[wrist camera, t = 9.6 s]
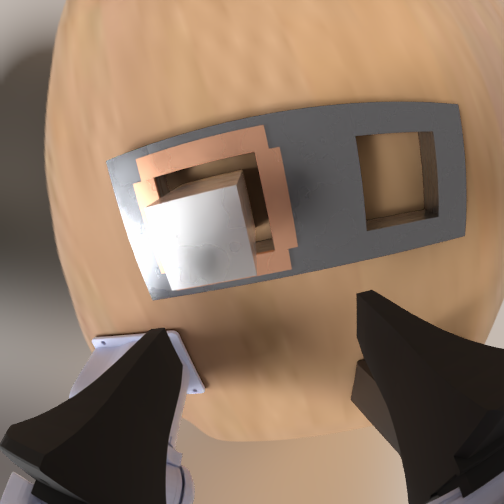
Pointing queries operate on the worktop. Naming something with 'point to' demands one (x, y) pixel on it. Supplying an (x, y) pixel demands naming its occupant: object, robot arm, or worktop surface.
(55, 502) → the robot arm
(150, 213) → the block
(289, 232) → the rail plate
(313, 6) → the worktop surface
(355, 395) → the phone stand
